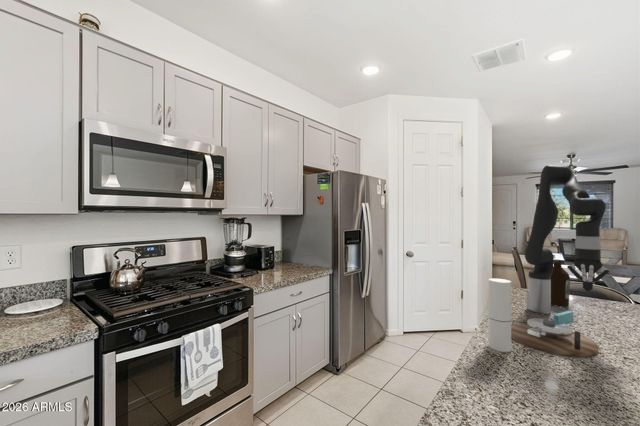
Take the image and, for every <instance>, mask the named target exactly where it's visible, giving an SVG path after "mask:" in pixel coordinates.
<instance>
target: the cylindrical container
mask: <svg viewBox="0 0 640 426" xmlns="http://www.w3.org/2000/svg"><path fill="white" fill-rule="evenodd" d="M511 324H512V281H511V280H509V279H505V278H493V277H492V278H488V346H489V348H490V349H492V350H495V351H498V352H501V353H502V352H503V353H508V352H509V353H510V352H511V351H512V338H511Z"/></svg>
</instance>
